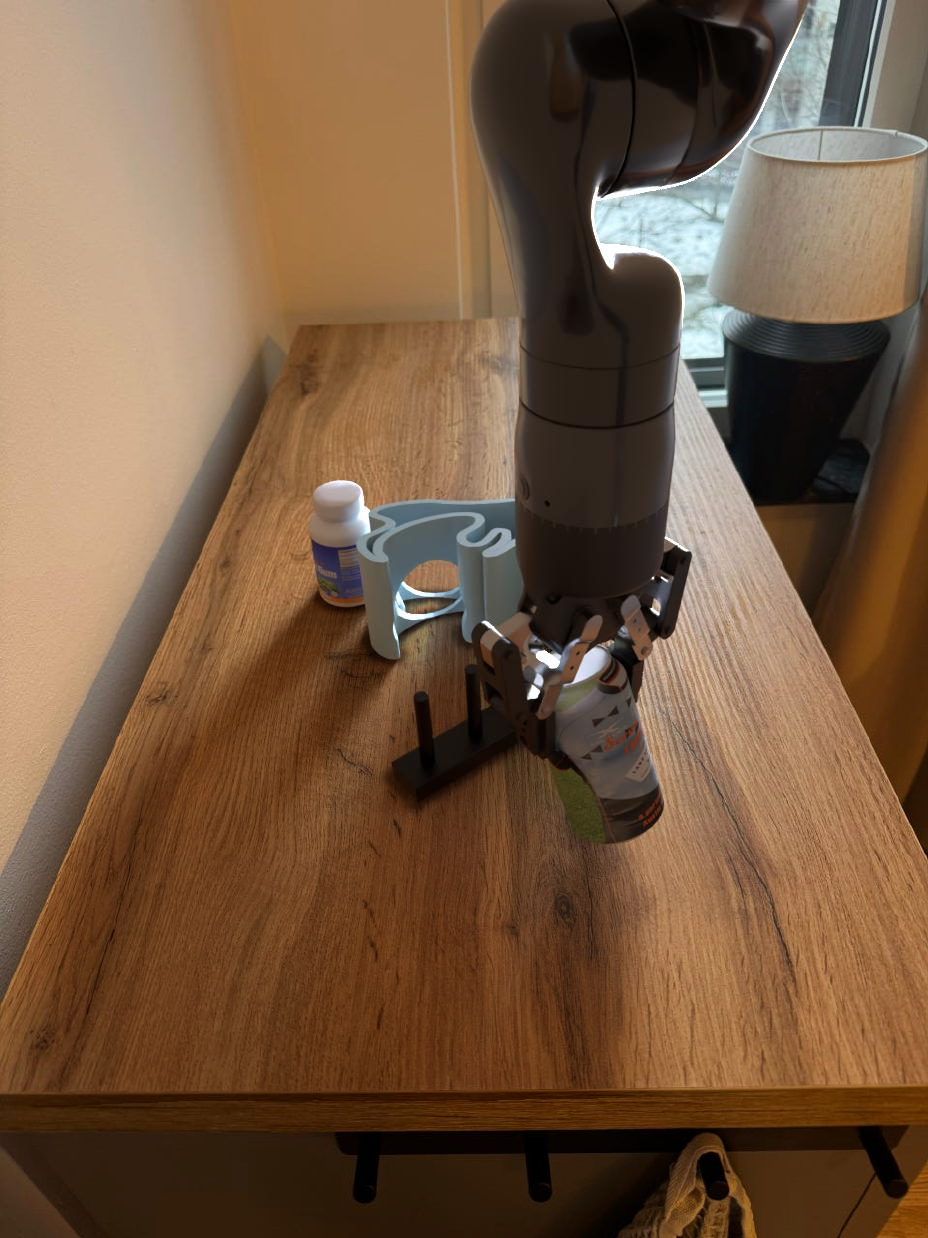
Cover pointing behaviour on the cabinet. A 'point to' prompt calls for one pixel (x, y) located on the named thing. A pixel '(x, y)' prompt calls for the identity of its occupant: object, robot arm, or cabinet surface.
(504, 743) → the rack
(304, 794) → the cabinet surface
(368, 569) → the squiggly pen holder
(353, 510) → the pill bottle
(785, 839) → the cabinet surface
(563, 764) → the beverage can
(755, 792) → the cabinet surface
